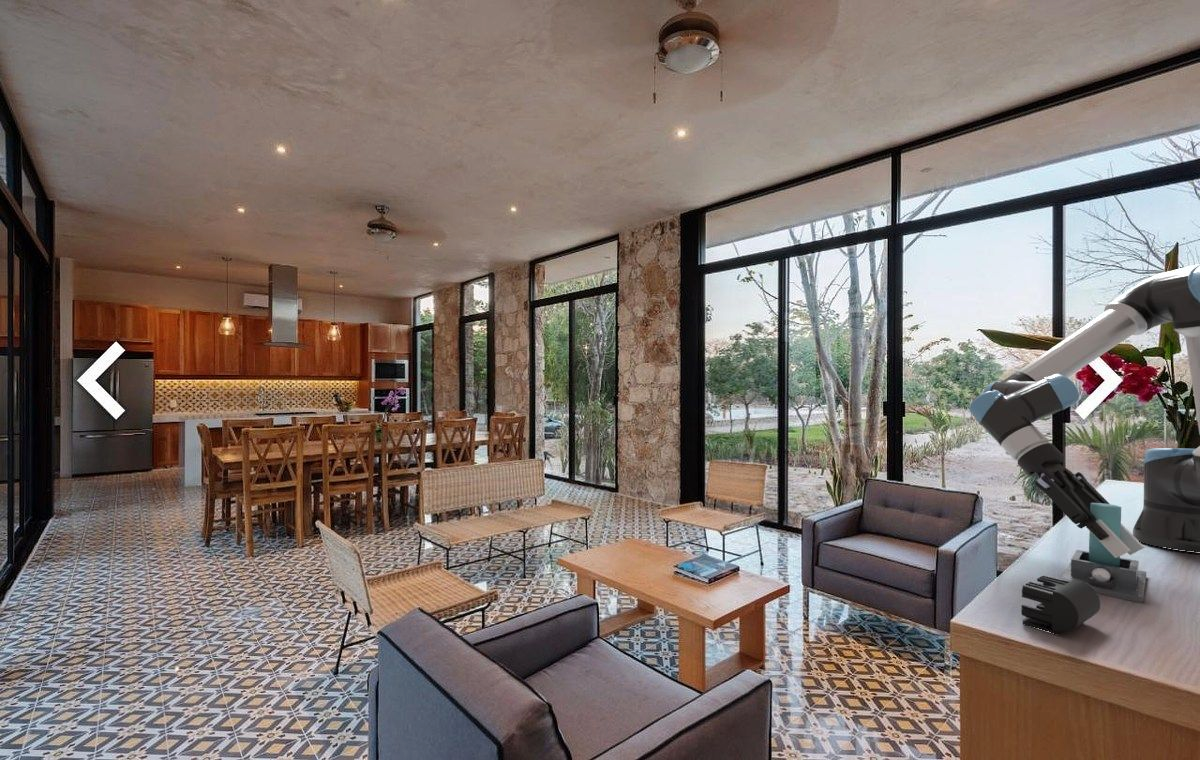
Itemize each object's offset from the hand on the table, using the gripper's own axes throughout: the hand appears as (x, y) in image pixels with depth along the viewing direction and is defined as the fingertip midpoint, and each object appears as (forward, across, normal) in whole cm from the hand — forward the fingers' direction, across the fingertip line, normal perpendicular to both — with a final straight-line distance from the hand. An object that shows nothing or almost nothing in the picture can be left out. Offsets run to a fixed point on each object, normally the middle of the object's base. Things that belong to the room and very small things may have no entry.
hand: (1130, 552), depth 102 cm
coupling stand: (+2, 0, -7) cm, 8 cm away
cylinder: (0, 0, -6) cm, 6 cm away
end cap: (+8, +31, -2) cm, 32 cm away
